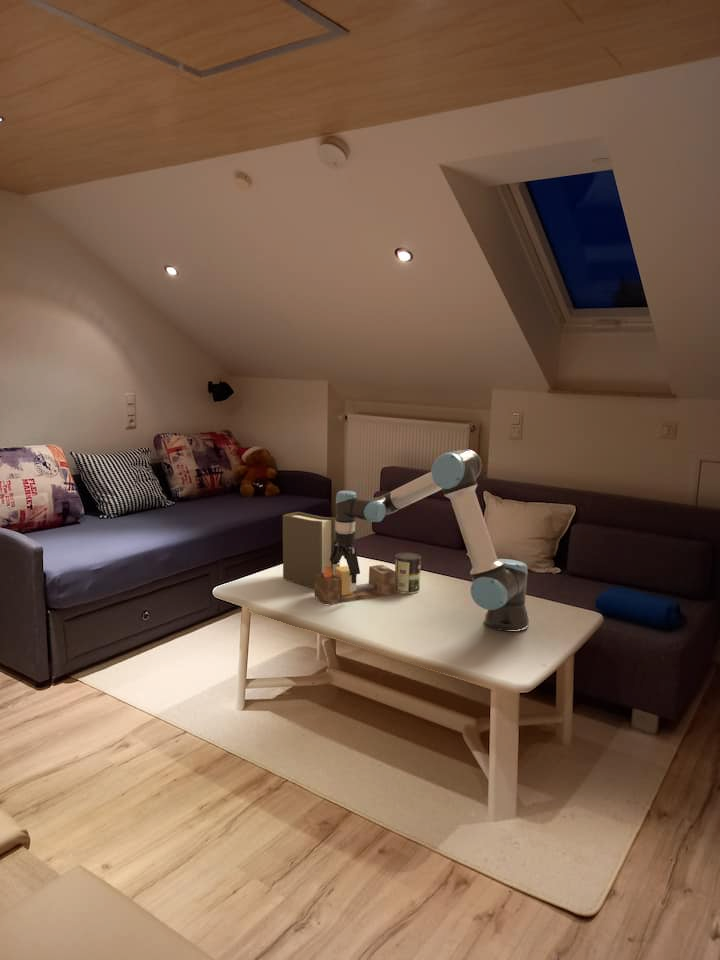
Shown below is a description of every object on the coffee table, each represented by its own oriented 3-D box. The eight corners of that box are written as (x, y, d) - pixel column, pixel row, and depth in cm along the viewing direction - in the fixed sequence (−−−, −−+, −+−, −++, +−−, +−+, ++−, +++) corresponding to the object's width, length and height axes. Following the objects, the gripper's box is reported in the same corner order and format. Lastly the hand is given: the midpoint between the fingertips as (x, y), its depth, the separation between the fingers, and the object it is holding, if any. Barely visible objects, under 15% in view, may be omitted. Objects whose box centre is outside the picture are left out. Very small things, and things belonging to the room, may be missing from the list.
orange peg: (332, 583, 268) (333, 568, 267) (325, 584, 267) (325, 569, 265) (329, 581, 271) (329, 566, 269) (322, 582, 269) (322, 567, 268)
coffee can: (418, 586, 288) (420, 552, 286) (420, 594, 278) (422, 560, 276) (393, 585, 289) (394, 551, 286) (394, 593, 278) (395, 559, 276)
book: (281, 580, 292) (281, 513, 288) (298, 575, 299) (297, 510, 295) (319, 591, 278) (319, 521, 274) (335, 586, 285) (336, 517, 281)
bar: (372, 587, 280) (372, 582, 280) (375, 589, 278) (375, 584, 278) (333, 593, 272) (334, 588, 272) (336, 595, 270) (336, 590, 270)
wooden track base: (381, 586, 287) (382, 563, 285) (394, 593, 278) (395, 570, 277) (314, 596, 273) (314, 572, 271) (325, 604, 264) (326, 580, 262)
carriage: (345, 589, 277) (346, 565, 275) (353, 594, 271) (353, 570, 270) (334, 590, 274) (334, 567, 272) (341, 595, 269) (342, 572, 267)
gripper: (370, 538, 259) (368, 593, 263) (338, 523, 281) (337, 574, 285) (352, 540, 256) (350, 596, 260) (321, 525, 277) (321, 577, 281)
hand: (344, 585), depth 272 cm, fingers open, 13 cm apart
